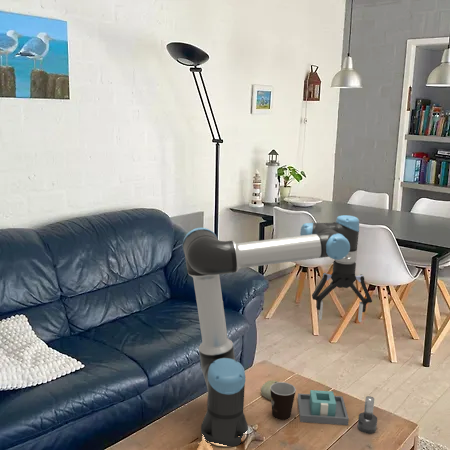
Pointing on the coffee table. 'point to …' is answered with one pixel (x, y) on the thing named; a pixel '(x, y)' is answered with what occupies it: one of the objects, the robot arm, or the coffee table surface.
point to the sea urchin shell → (267, 389)
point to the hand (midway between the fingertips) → (339, 319)
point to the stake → (367, 417)
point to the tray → (306, 416)
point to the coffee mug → (282, 400)
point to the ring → (322, 403)
